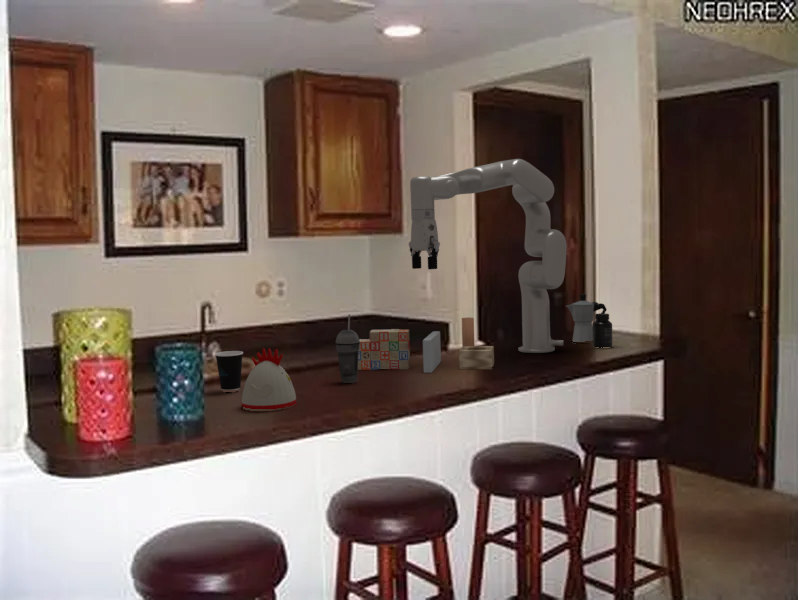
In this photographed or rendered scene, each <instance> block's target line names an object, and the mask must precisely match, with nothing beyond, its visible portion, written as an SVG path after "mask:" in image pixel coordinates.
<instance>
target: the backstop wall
mask: <svg viewBox="0 0 798 600" xmlns="http://www.w3.org/2000/svg"><path fill="white" fill-rule="evenodd" d="M441 350H442V349H441V331H438V330H437V331H432V332H431V333H429V334H428V335H427V336H426V337H425V338H424V339H423V340H422V360H423V373H424V374H425V373H426V374H428V373H429V374H430V373H431V374H432V373H433V371H434V370H436V369H437V367H438V365H439V364H440V363H441V362H442V358H441V357H442V353H441Z"/></svg>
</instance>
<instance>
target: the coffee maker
mask: <svg viewBox="0 0 798 600" xmlns="http://www.w3.org/2000/svg"><path fill="white" fill-rule="evenodd" d="M586 297H587V294H579V298H580V300H579V301H576V302H573V303H571V304H567V305H565V307H566V308H567V309H568V311H569V312H570V314H571V316H572V321H573V322H574V326H573V334H572V341H573V342H585V341H592V340H593V332H592V324H593V322H594V317H595V312H596V311H599V310H602V311H601V313H606V312H607V307H606V305H605V304H604V303H599V302H597V301H592V302H591V301H588V300H586V299H587V298H586ZM573 342H572V343H573Z"/></svg>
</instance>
